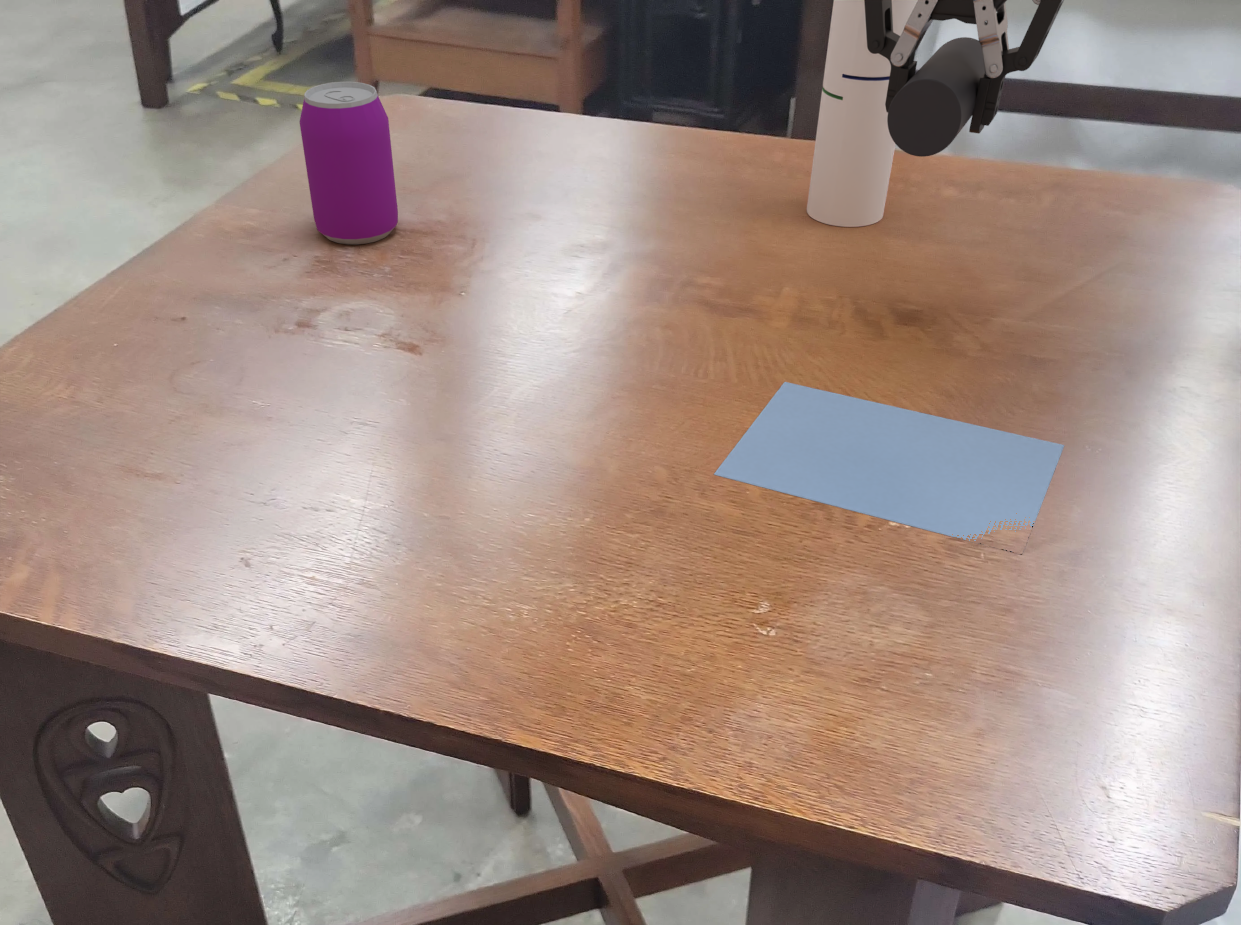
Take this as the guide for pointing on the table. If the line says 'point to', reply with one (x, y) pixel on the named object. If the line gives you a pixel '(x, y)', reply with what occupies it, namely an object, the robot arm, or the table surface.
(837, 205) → the cylindrical container
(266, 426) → the table surface
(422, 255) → the table surface
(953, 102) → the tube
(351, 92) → the beverage can
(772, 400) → the paper
